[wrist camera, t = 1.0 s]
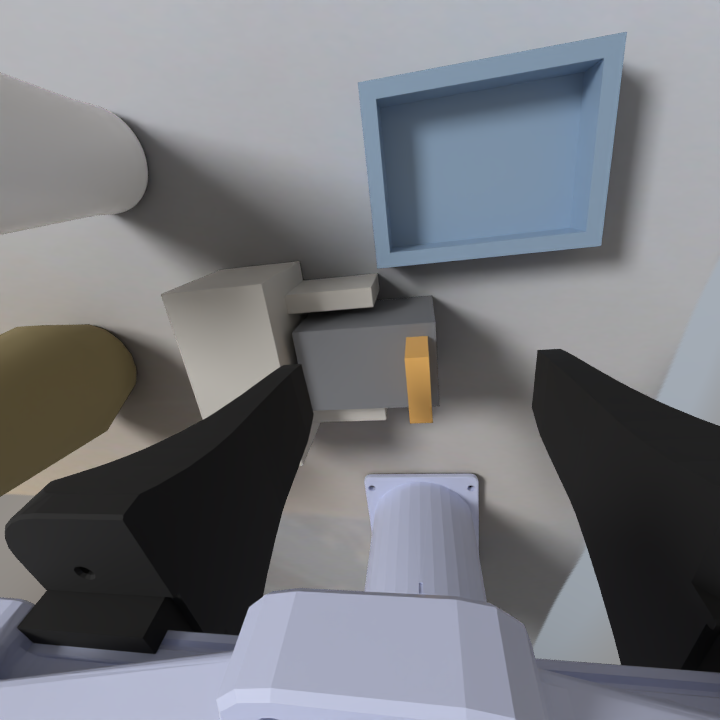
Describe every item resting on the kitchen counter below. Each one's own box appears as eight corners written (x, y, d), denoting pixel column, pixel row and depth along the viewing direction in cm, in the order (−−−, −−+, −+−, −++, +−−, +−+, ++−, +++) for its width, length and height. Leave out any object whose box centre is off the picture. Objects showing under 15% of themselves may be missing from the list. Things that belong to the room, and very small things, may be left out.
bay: (391, 406, 25) (384, 464, 20) (258, 411, 27) (218, 466, 22) (375, 252, 21) (361, 273, 16) (220, 269, 23) (160, 294, 18)
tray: (580, 239, 20) (601, 245, 18) (381, 260, 22) (377, 268, 19) (598, 53, 17) (627, 31, 14) (365, 95, 19) (357, 82, 16)
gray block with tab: (327, 371, 25) (294, 438, 18) (316, 305, 23) (274, 352, 17) (435, 365, 24) (442, 434, 17) (431, 295, 22) (438, 341, 15)
